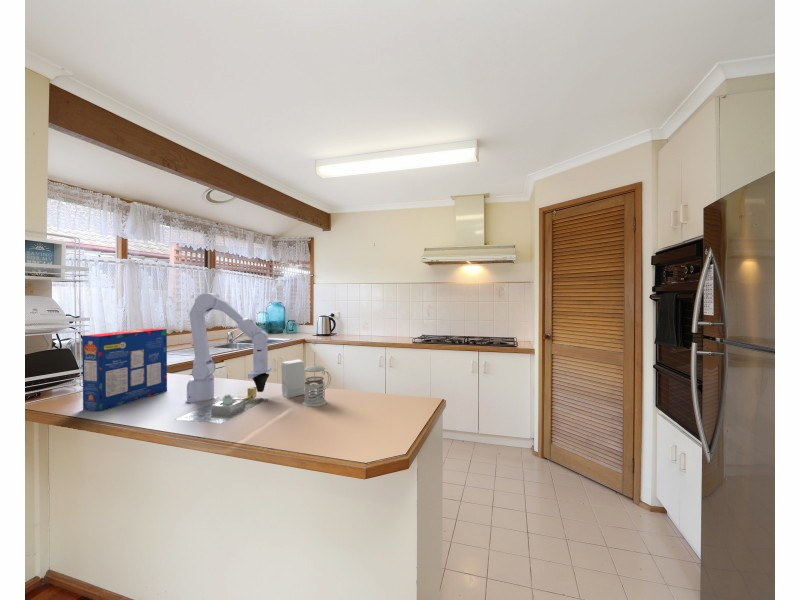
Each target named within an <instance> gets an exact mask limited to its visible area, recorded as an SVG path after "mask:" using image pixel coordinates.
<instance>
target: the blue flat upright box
mask: <svg viewBox="0 0 800 600" xmlns="http://www.w3.org/2000/svg"><path fill="white" fill-rule="evenodd" d="M167 333H168V330H167V328H152V327H151V328H143V329H134V330H123V331H115V332H113V331H112V332H105V333H104V332H103V333H95V334H94V333H93V334H85V335H81V336H82V338H81V340H82V343H81V345H82V347H81V348H82V352H81V353H82V355H81V356H82V410H83V411H89V412H91V411H92V412H98V413H99V412H103V411H106V410H110V409H113V408H116V407H119V406H122V405H125V404H126V405H127V404H129V403H133V402H135V401H140V400H142V399H145V398H149V397H152V396H155V395H159V394H162V393H165V392H168V348H167V347H168V345H167V344H168V336H167V335H168V334H167Z"/></svg>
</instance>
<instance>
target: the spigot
mask: <svg viewBox="0 0 800 600" xmlns="http://www.w3.org/2000/svg"><path fill="white" fill-rule="evenodd" d="M232 397H233V396H232V395H231V394H229V393H228V394H224V397H222V399H223V405H231V404H232Z"/></svg>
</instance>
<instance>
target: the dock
mask: <svg viewBox="0 0 800 600" xmlns="http://www.w3.org/2000/svg"><path fill="white" fill-rule="evenodd" d="M262 402H263V403H264V402H265V403H267V402H268V398H259V397H255V398H253V399H250V400H248V401H246V402H245V398H244V396H243V397H242V396H232V404H231V405H223V398H221V399H219V400H218V399H217V401H214V402H211V403H209V404H208V405H205V406H202V407H200V408H197V409H195V410H193V411H191V412H188V413H186V414H184V415H182V416H179V417H176V418H175V419H174V421H175V420H176V421H186V422H187V421H188V422H199V423H212V424H223V423H225V422H227V421H229V420H230V419H233V418H235V417H237V416H238V415H240V414H242V413H244V412H246V411H248V410H249V409H252V408H253V407H255V406H257V405H259V404H261V403H262Z"/></svg>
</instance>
